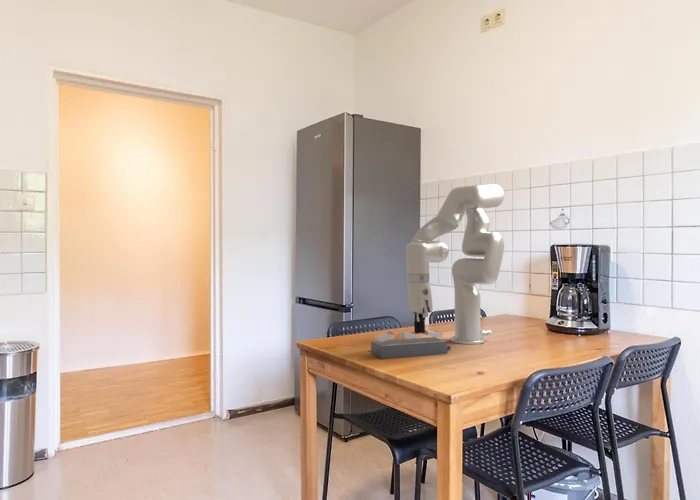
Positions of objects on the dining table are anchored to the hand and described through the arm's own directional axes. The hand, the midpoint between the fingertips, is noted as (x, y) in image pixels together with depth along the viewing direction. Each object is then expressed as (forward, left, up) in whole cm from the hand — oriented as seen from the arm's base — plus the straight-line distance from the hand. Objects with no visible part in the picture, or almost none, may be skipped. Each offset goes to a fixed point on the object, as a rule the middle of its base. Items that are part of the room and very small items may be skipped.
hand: (419, 332), depth 165 cm
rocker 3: (-4, 0, -2) cm, 5 cm away
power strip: (+2, 0, -7) cm, 7 cm away
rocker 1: (+13, 0, -2) cm, 13 cm away
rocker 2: (+4, 0, -2) cm, 4 cm away
